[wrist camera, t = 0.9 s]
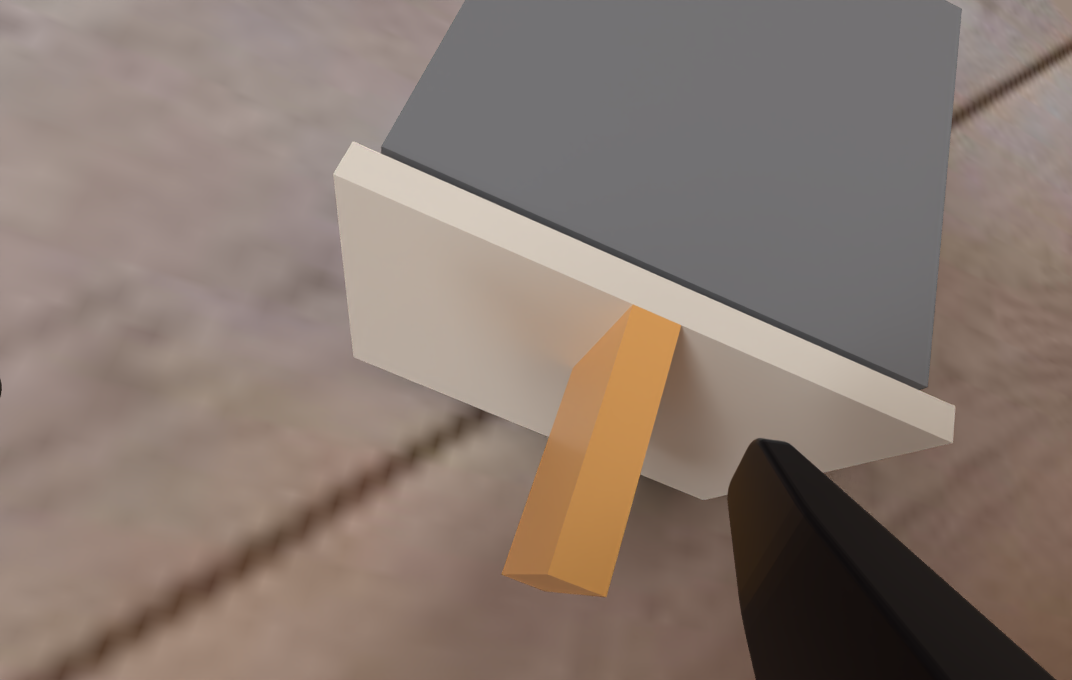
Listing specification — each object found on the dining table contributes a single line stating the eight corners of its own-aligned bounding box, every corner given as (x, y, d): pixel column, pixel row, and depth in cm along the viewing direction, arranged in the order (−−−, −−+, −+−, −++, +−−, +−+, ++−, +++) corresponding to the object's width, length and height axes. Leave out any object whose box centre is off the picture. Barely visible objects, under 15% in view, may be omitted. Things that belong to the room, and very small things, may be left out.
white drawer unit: (668, 653, 20) (933, 724, 10) (279, 504, 19) (178, 430, 9) (764, 234, 27) (980, 45, 17) (480, 106, 25) (541, -174, 16)
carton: (689, 468, 23) (927, 387, 13) (379, 340, 22) (381, 146, 12) (751, 212, 28) (961, 8, 18) (499, 97, 27) (572, -187, 17)
